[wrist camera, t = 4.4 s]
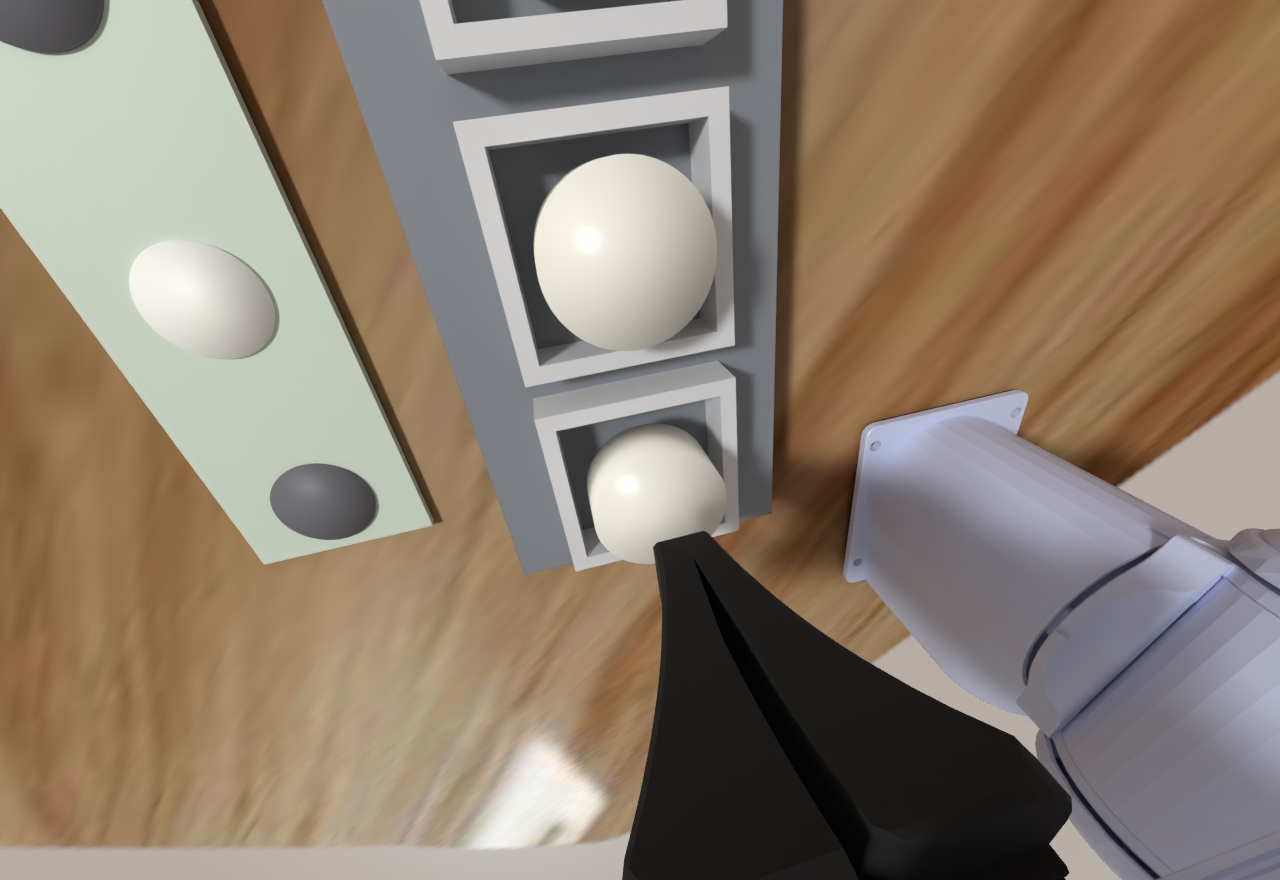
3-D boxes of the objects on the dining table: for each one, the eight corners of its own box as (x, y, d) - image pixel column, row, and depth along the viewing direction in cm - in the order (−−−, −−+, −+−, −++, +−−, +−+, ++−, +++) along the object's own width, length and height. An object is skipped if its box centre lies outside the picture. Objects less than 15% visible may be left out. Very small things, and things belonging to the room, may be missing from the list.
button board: (750, 485, 21) (789, 537, 18) (524, 540, 19) (525, 605, 16) (745, -384, 10) (847, -638, 7) (215, -383, 8) (42, -700, 5)
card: (433, 520, 18) (432, 527, 18) (268, 558, 17) (262, 566, 17) (106, -202, 9) (90, -217, 9) (-273, -186, 8) (-309, -202, 8)
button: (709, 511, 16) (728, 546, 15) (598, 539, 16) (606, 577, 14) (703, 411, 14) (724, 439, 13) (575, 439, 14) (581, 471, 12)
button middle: (697, 315, 13) (720, 334, 11) (553, 342, 12) (557, 365, 11) (685, 145, 11) (713, 140, 9) (514, 170, 10) (512, 168, 9)
